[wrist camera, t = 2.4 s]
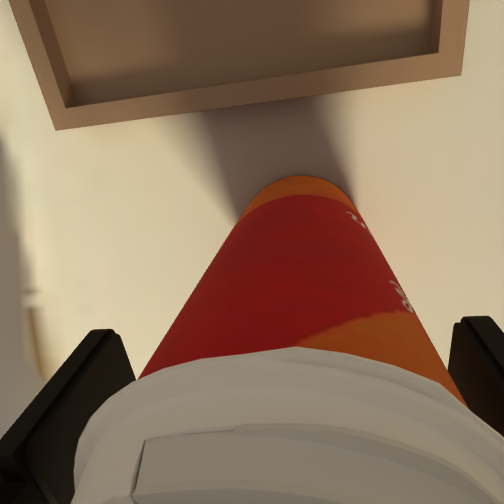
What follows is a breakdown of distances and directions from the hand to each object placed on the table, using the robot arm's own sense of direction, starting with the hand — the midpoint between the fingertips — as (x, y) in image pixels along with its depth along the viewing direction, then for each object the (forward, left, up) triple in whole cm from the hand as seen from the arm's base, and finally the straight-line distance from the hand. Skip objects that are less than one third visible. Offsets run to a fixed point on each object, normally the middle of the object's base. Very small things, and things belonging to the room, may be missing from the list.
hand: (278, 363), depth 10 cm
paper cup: (-1, 0, -9) cm, 9 cm away
